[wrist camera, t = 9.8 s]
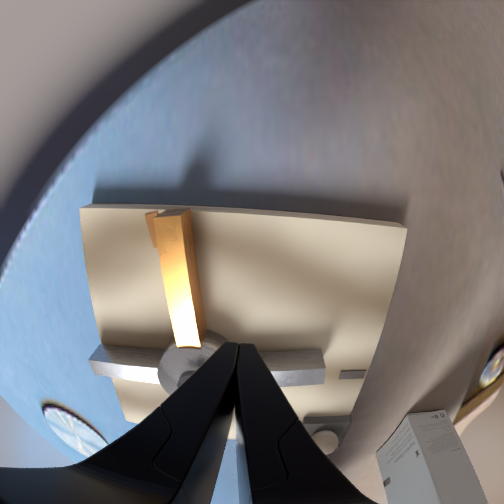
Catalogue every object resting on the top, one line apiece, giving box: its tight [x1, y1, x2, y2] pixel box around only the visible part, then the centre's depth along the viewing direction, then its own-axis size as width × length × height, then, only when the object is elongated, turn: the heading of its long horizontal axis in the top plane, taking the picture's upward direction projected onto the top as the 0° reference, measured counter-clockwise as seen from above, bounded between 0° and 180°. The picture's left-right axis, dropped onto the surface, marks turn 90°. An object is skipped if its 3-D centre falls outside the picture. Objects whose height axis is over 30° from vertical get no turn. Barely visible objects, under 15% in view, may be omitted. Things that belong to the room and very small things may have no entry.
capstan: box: [89, 208, 326, 395], centre depth 17 cm, size 16×18×3 cm
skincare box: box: [376, 410, 488, 504], centre depth 17 cm, size 8×6×15 cm
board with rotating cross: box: [80, 203, 407, 455], centre depth 18 cm, size 20×20×4 cm
